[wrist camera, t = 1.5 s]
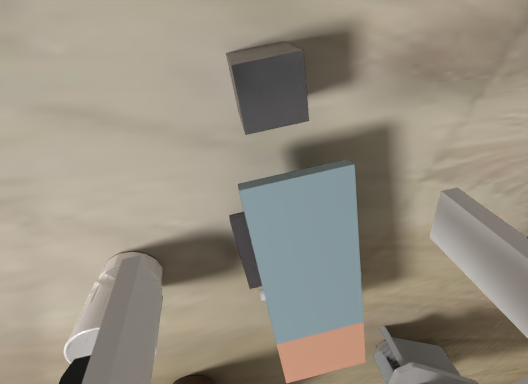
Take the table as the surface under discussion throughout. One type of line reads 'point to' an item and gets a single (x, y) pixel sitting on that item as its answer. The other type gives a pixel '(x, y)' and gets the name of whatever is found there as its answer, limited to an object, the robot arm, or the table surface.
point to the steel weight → (269, 86)
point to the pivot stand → (245, 249)
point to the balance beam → (309, 265)
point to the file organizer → (415, 363)
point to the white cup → (102, 306)
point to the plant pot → (194, 380)
